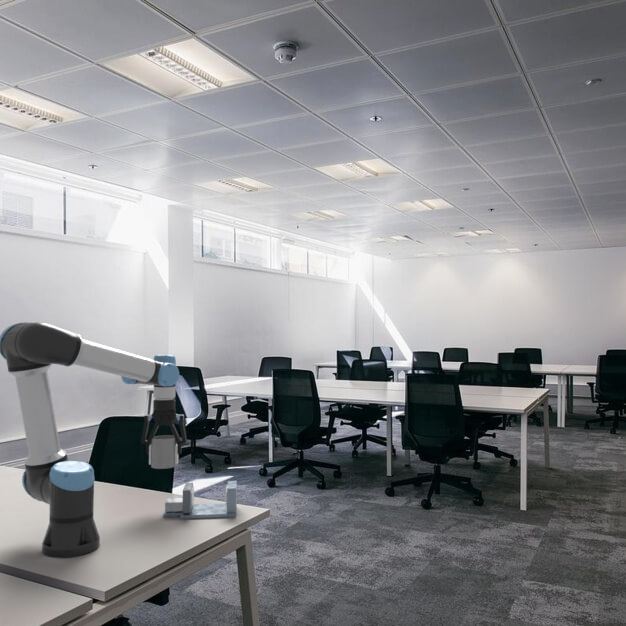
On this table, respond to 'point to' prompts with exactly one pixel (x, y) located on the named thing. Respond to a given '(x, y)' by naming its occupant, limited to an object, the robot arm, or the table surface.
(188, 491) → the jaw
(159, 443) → the cup
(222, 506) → the vise base
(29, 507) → the table surface
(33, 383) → the robot arm
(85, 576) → the table surface
